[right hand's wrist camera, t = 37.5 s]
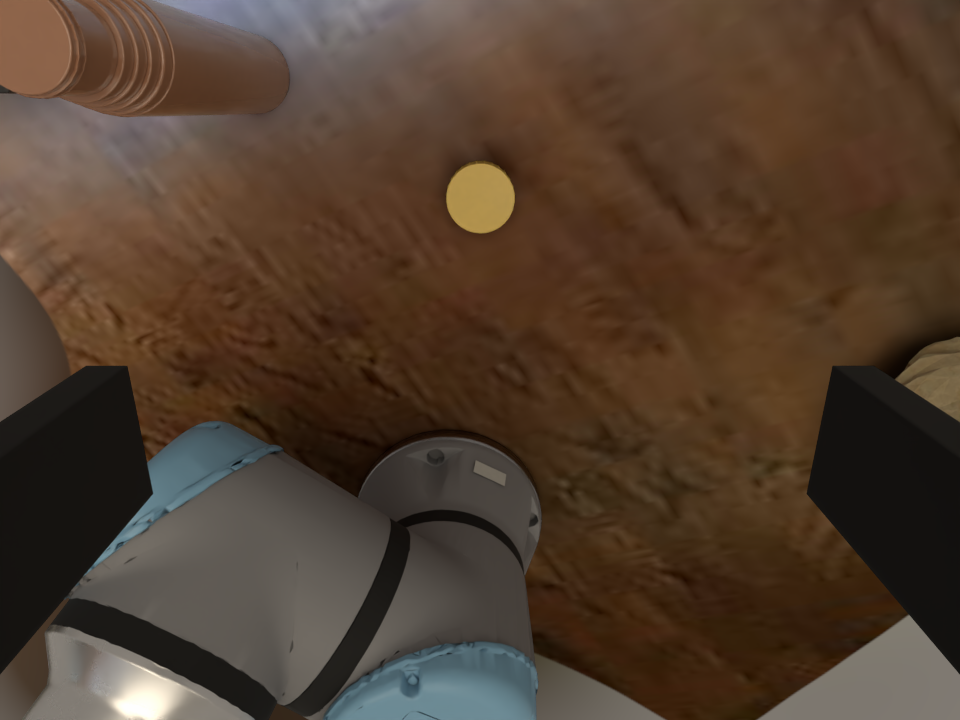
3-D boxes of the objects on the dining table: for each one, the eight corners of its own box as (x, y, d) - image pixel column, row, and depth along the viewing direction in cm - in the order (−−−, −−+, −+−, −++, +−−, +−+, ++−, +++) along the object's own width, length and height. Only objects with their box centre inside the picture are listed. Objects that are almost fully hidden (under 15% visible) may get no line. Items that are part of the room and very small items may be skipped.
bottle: (305, 81, 44) (126, 53, 22) (252, 129, 45) (31, 149, 23) (252, 16, 43) (5, -84, 20) (200, 67, 44) (-90, 25, 21)
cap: (433, 200, 47) (431, 204, 44) (474, 145, 45) (474, 147, 43) (485, 241, 48) (485, 247, 45) (527, 189, 46) (529, 193, 44)
